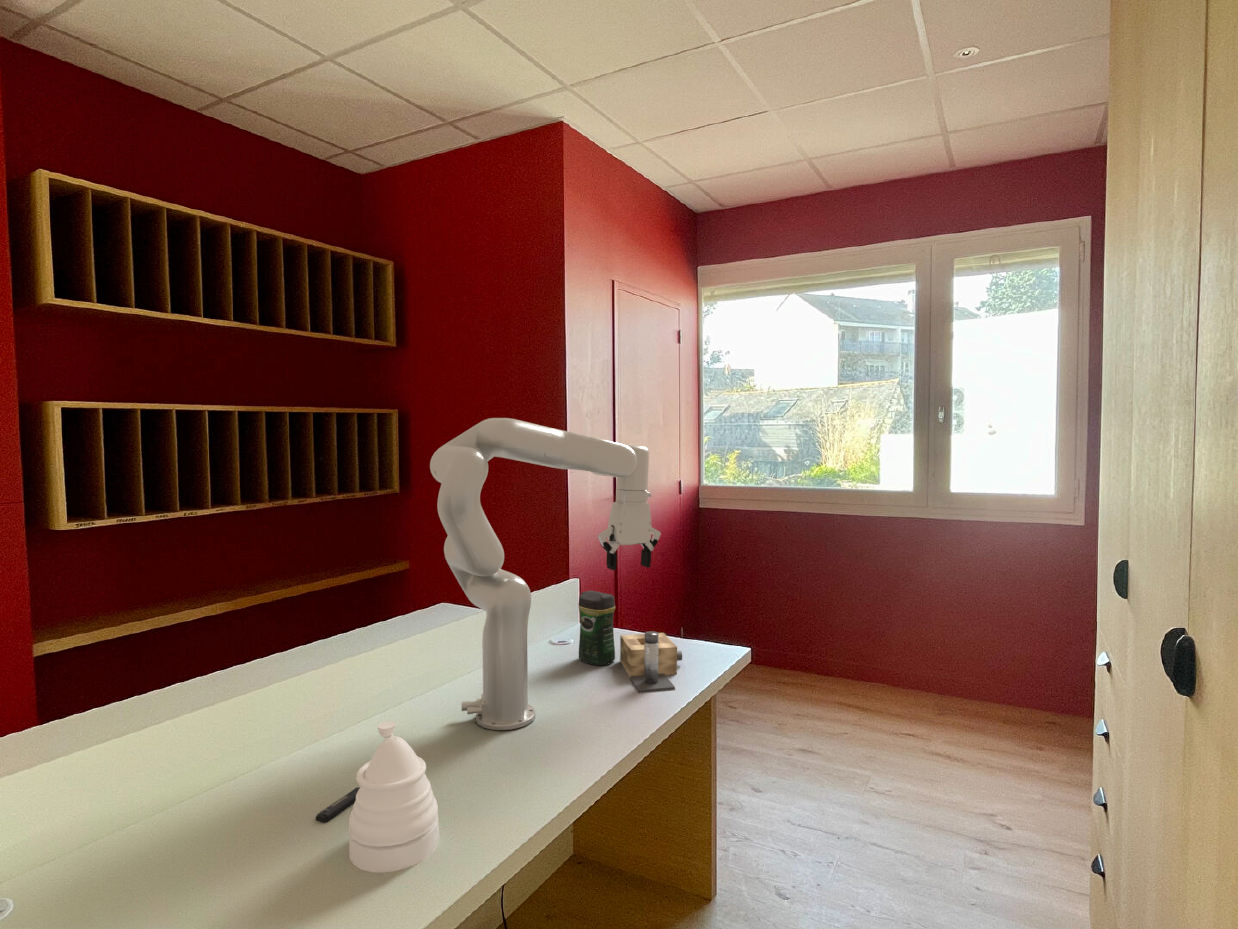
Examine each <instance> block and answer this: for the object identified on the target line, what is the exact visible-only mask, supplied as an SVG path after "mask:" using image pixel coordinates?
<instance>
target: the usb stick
mask: <svg viewBox="0 0 1238 929" xmlns="http://www.w3.org/2000/svg"><path fill="white" fill-rule="evenodd" d="M359 789H360V786H357V787H354V789H352V790H351V791H349V792H348V793H346V794H345V795H344V796H342V797H341V798H339V799H338V800H336V801H335V802H333V803H332V804H330V805H329V806H327V807H326V808H324V809H322V810H321V811H320V812H319V813H317V814H316V816H315V821H316V822H319V823H321V824H326V823H328V822H330V821H331V820H333V819H334V818H335V817H337V816H339V815H340V814H341V813H343V812H344V811H345V810H347V809H349V807H352V806H353V805H354V803H355V801H356V794H357V792H358V790H359Z"/></svg>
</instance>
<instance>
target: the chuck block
mask: <svg viewBox="0 0 1238 929" xmlns="http://www.w3.org/2000/svg"><path fill="white" fill-rule="evenodd" d="M658 633H659V639H658V674H665V675H666V676H670V674H671V675H677V674H678V661H683V653H682V650H678V646H677V645H676V644H675V643H674V642H673V641H672V640H671V639H670V638H669V637H668V636H667V634H666V633H665V632H658ZM644 638H645V633H641V634H640V633H639V634H624V635H623V634H622V635H620V637H619V639H620V640H619V641H620V642H619V643H620V645H619V646H620V647H619V649H620V650H619V652H620V653H619V654H620V655H619V656H620V658H619V662H620V664H621V665H622V664H623V665H622V666H623V668H624V669H625V671H626V670H627V671H626V673H627V675H629V677H630V676H639V675H644Z"/></svg>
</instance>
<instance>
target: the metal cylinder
mask: <svg viewBox="0 0 1238 929" xmlns="http://www.w3.org/2000/svg"><path fill="white" fill-rule="evenodd" d="M659 633H660V632H658V631H655V630H654V631H653V630H651V631H650V630H649V631H646V632H644V634H645V638H644V682H645V683H646V684H657V683H658V639H659Z"/></svg>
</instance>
